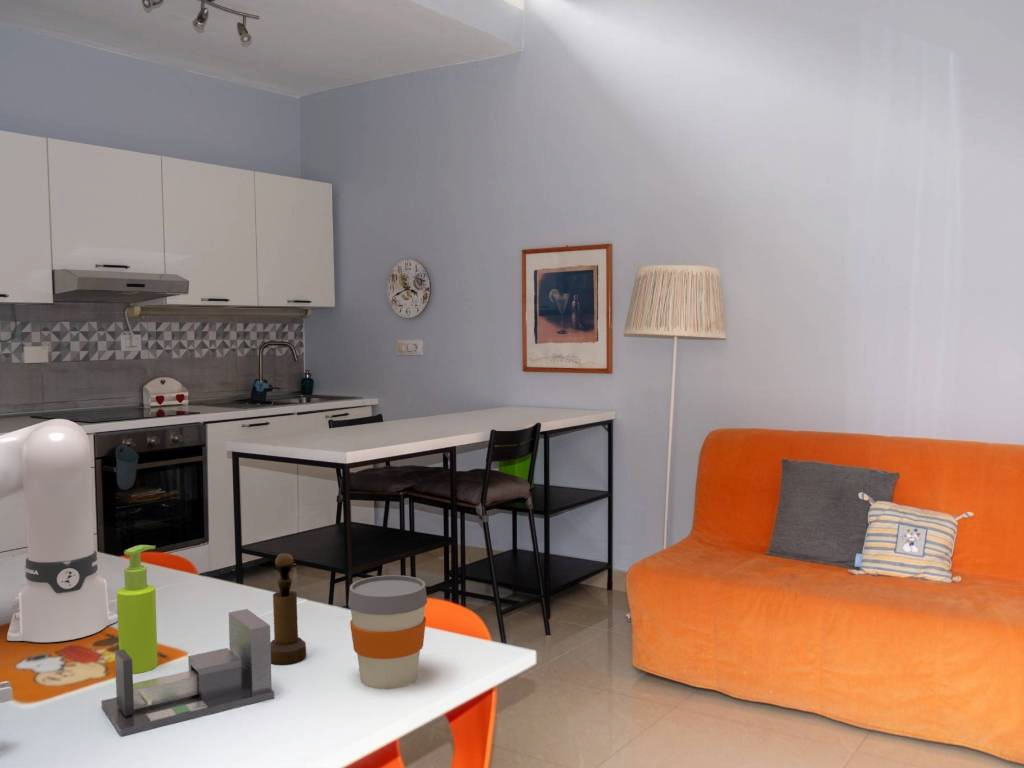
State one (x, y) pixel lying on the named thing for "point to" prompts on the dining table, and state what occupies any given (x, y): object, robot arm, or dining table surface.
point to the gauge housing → (213, 680)
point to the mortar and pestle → (286, 618)
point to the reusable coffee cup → (388, 628)
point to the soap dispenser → (137, 614)
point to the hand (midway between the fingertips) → (11, 690)
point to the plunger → (150, 686)
